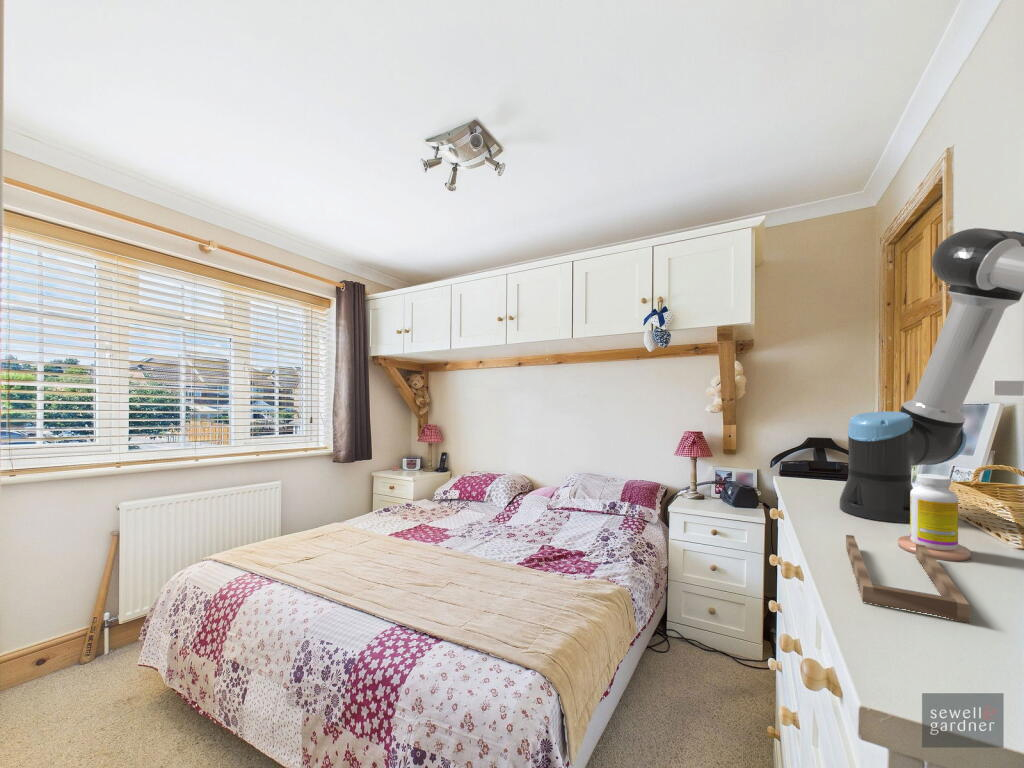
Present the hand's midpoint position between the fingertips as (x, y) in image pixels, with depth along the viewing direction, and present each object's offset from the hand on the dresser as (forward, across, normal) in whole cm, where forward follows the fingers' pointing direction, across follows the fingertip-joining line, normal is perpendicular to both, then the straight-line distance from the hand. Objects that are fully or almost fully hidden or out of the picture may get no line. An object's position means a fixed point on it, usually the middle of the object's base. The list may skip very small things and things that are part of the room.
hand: (1007, 389), depth 82 cm
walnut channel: (+18, -18, -30) cm, 39 cm away
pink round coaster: (+10, 0, -30) cm, 32 cm away
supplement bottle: (+10, 0, -29) cm, 31 cm away
